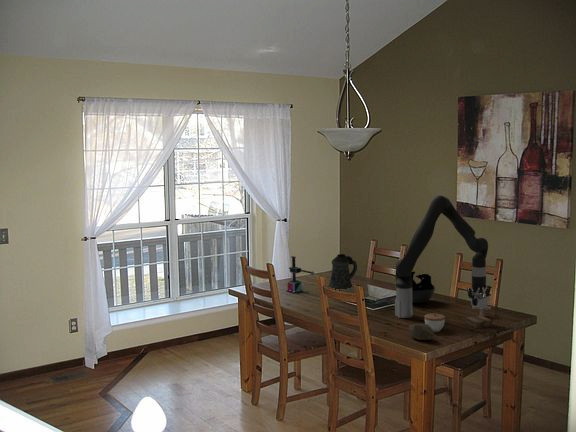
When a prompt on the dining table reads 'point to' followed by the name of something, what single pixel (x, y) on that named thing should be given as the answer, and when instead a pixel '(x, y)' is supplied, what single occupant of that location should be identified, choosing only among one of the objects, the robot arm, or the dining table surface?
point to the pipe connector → (481, 309)
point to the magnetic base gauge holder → (295, 284)
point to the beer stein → (342, 272)
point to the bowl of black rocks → (422, 289)
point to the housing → (480, 301)
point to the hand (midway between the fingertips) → (478, 304)
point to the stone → (421, 331)
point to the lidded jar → (435, 321)
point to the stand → (478, 322)
